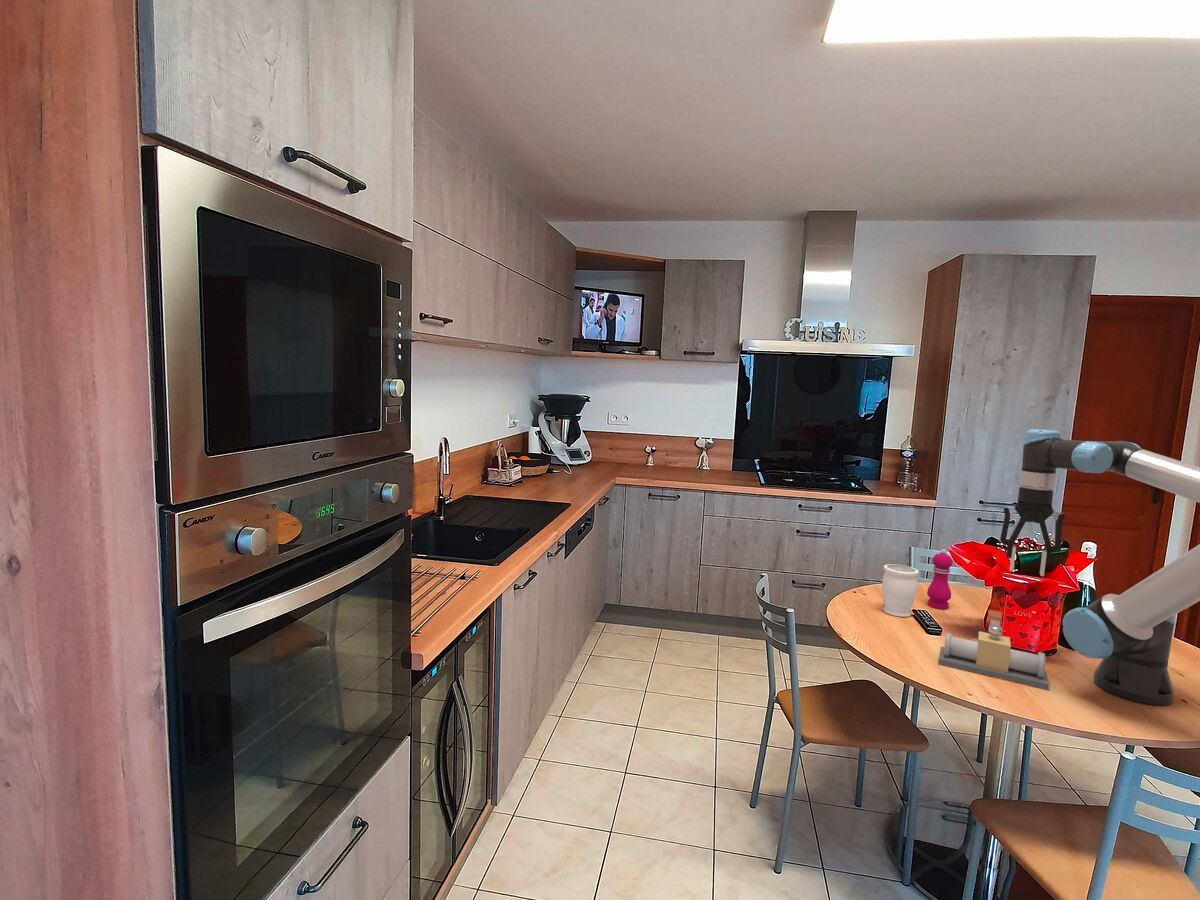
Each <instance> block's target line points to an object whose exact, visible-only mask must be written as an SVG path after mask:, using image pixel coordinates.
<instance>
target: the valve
mask: <svg viewBox="0 0 1200 900" xmlns="http://www.w3.org/2000/svg"><path fill="white" fill-rule="evenodd" d="M1011 647H1012V646H1011V637H1009V636H1004V635H995V634H992V633H989V632H984V631H978V637H977V641H974V640H970V639H966V638H961V637H956V636H952V633H950V632H949V633H948V632H945V640H944V646H943V645H942V646H940V650H939V655H938V665H939V666H945V667H949V668H952V669H956V668H957V669H958V670H960V669H961V671H965V672H969V673H973V674H977V673H978V674H979V675H982V674H984V675H983V676H986V675H988V676H987V677H990V676H993V677H992V678H994V677H997V678H996V679H999V678H1002V679H1001V680H1003V679H1006V680H1005V681H1007V680H1011V681H1014V682H1013V683H1016V682H1018V683H1017V684H1020V683H1022V684H1021V685H1024V684H1026V685H1025V686H1028V685H1029V687H1033V688H1038V689H1042V690H1046V691H1049V688H1050V687H1049V686H1050V684H1049V678H1048V675H1047V670H1046V654H1045V652H1041V651H1040V652H1039V651H1038V653H1037V654H1035V653H1031V652H1028V651H1027V652H1026V651H1021V650H1018V649H1017V650H1016V649H1012V648H1011ZM957 669H956V670H957ZM1011 681H1010V682H1011Z"/></svg>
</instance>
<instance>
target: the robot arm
mask: <svg viewBox="0 0 1200 900" xmlns="http://www.w3.org/2000/svg"><path fill="white" fill-rule="evenodd" d="M1022 446H1023V447H1022V448H1023V450H1022V463H1021V464H1022V465H1021V470H1020V478H1019V485H1020V487H1019V488H1018V495H1017V502H1016V504H1015V505H1013V506H1006V505H1005V506H1003V512H1004V517H1003V521H1002V526H1001V527H1002V528H1001V533H1000V538H999V542H1000V543H1001V544H1004V545H1005V546H1006V558H1007V559H1010V562H1009V563H1010V564H1009V571H1010V572H1014V570H1015V560H1016V552H1017V551H1016V550H1017V546H1016V545H1015V542H1016V541H1017V539H1018V537H1019V535H1020V533H1021V531H1022V529H1023V527H1024V526H1025V524H1026V523H1035V524H1039V527H1040V531H1041V534H1042V539H1043V542H1044V546H1045V549H1042V550H1041V551H1042V552H1041V559H1040V568H1039V575H1040V576H1041V577H1044V576H1045V572H1046V571H1045V569H1046V564H1047V565H1051V563H1052V555H1053V553H1054V552H1060V551H1061V550H1062V533H1063V529H1062V528H1063V522H1064V520H1065V517H1066V515H1065V514H1064V512H1058V511H1055V510H1054V508H1053V496H1054V491H1053V489H1054V487H1055V484H1056V483H1055V480H1056V473H1057V471H1056V470H1057V469H1063V470H1070V471H1076V472H1082V473H1086V474H1087V473H1088V474H1089V473H1090V474H1102V473H1105V472H1113V473H1116V474H1118V475H1121V476H1124V477H1127V478H1130V479H1132V480H1136V481H1138V482H1142V483H1144V484H1147V485H1149V486H1152V487H1155V488H1158V489H1161V490H1163V491H1166V492H1168V493H1171V494H1174V495H1177V496H1179V497H1182V498H1185V499H1187V500H1191V501H1193V502H1196V503H1199V504H1200V466H1197V465H1193V464H1191V463H1187V462H1184V461H1181V460H1178V459H1175V458H1172V457H1169V456H1165V455H1163V454H1159V453H1157V452H1156V453H1155V452H1152V451H1150V450H1147V449H1143V448H1142V447H1141V446H1140V445H1139V444H1137V443H1133V442H1128V441H1124V440H1117V441H1112V440H1111V441H1108V440H1106V441H1101V440H1100V441H1098V440H1094V441H1093V440H1092V441H1091V440H1072V439H1064V438H1061V432H1060V431H1058V430H1051V429H1037V428H1035V429H1033V428H1032V429H1028V430H1026V432H1025V436H1024V442H1023V445H1022ZM1015 511H1016V513H1017V514H1018V516H1019V519H1018V521H1017V524H1016V526H1015V527H1014V528H1013V531H1012V533H1011V535H1010V536H1009V539H1007V536H1008V531H1009V525H1010V521H1011V515H1013V514H1014V512H1015ZM1051 516H1053V519H1054V520H1055V521H1054V522H1055V525H1054V527H1055V528H1054V545H1052V543H1051V539H1050V535H1049V532H1048V528H1047V524H1046V520H1048V519H1049V517H1051ZM1198 602H1200V544H1198V545H1195V547H1193V548H1191V549H1189V550H1188V551H1187V552H1185V553H1184V554H1182V555H1180V556H1179V557H1177V558H1176V559H1174V560H1172V561H1171V562H1169V563H1168V564H1166V565H1164V566H1163V567H1162V568H1160V569H1158V570H1157V571H1154V572H1153V573H1152V574H1150V575H1148V576H1147V577H1146V578H1144V579H1143V580H1141V581H1139V582H1137V583H1136V584H1134V585H1133V586H1131V587H1130V588H1128V589H1127V590H1125V591H1124V592H1122V593H1120V594H1115V593H1108V594H1105V595H1103V596H1101V597H1100V598H1098V599H1097V600H1095V601H1094V602H1092V603H1090V604H1089V605H1087V606H1085V607H1084V606H1083V607H1082V606H1081V607H1075V608H1073V609H1071V610H1069V611H1067V613H1065V615H1064V616H1063V619H1062V621H1061V622H1062V623H1061V624H1062V627H1063V628H1062V632H1063V636H1064V638H1065V640H1066V642H1067V643H1068V645H1069V646H1070V647H1071V648H1072V649H1073V650H1074V651H1075V652H1076V653H1078V654H1079V655H1082V656H1084V657H1085V658H1089V659H1100V662H1099V664H1098V665H1097V667H1096V668H1095V670H1094V675H1093V682H1094V684H1095V685H1096V686H1097V687H1099V688H1100V689H1102V690H1104V691H1106V692H1107V693H1110V694H1112V695H1114V696H1117V697H1120V698H1123V699H1126V700H1129V701H1133V702H1137V703H1141V704H1146V705H1153V706H1168V705H1171V704H1172V703H1173V702H1174V695H1175V691H1174V689H1173V688H1174V687H1173V684H1172V682H1171V681H1172V680H1171V677H1170V674H1169V670H1168V665H1169V659H1170V651H1171V646H1172V639H1173V634H1174V633H1173V632H1174V626H1175V625H1176V624H1175V615H1177V614H1178V613H1180V612H1183V611H1184V610H1186V609H1188V608H1190V607H1191V606H1193V605H1195V604H1197V603H1198Z"/></svg>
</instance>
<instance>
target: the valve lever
mask: <svg viewBox="0 0 1200 900" xmlns="http://www.w3.org/2000/svg"><path fill="white" fill-rule="evenodd" d="M1002 615H1003V614H1002V611H998V610H992V609H988V611H987V623H988V624H989V625H988V632H987V633H990V634H991V633H992V634H995V635H1000V636H1003V635H1002V634H1003V627H1002V619H1003V617H1002Z"/></svg>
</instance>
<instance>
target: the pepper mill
mask: <svg viewBox="0 0 1200 900" xmlns="http://www.w3.org/2000/svg"><path fill="white" fill-rule="evenodd" d="M932 564H933V565H934V566H933V569H932V571H933V572H934V574H933V579H932V581H931V583H930V584H929V586H928V588H927V591H926V594H927V596H928V597H929V598H928V600H927V606H929V607H930V608H933V609H935V610H944V611H945V610H948V609H949V607H950V606H949V601H950V600H951V598H952V590H951V588H950V584H949V579H948V578H949V574H950V573H951V569H950V568H951V567H952V565H953V558H952V556H950V555H949V554H947V550H946V549H945V548H942V549H941V550H940V553H936V554H934V555H933V557H932Z"/></svg>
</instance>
